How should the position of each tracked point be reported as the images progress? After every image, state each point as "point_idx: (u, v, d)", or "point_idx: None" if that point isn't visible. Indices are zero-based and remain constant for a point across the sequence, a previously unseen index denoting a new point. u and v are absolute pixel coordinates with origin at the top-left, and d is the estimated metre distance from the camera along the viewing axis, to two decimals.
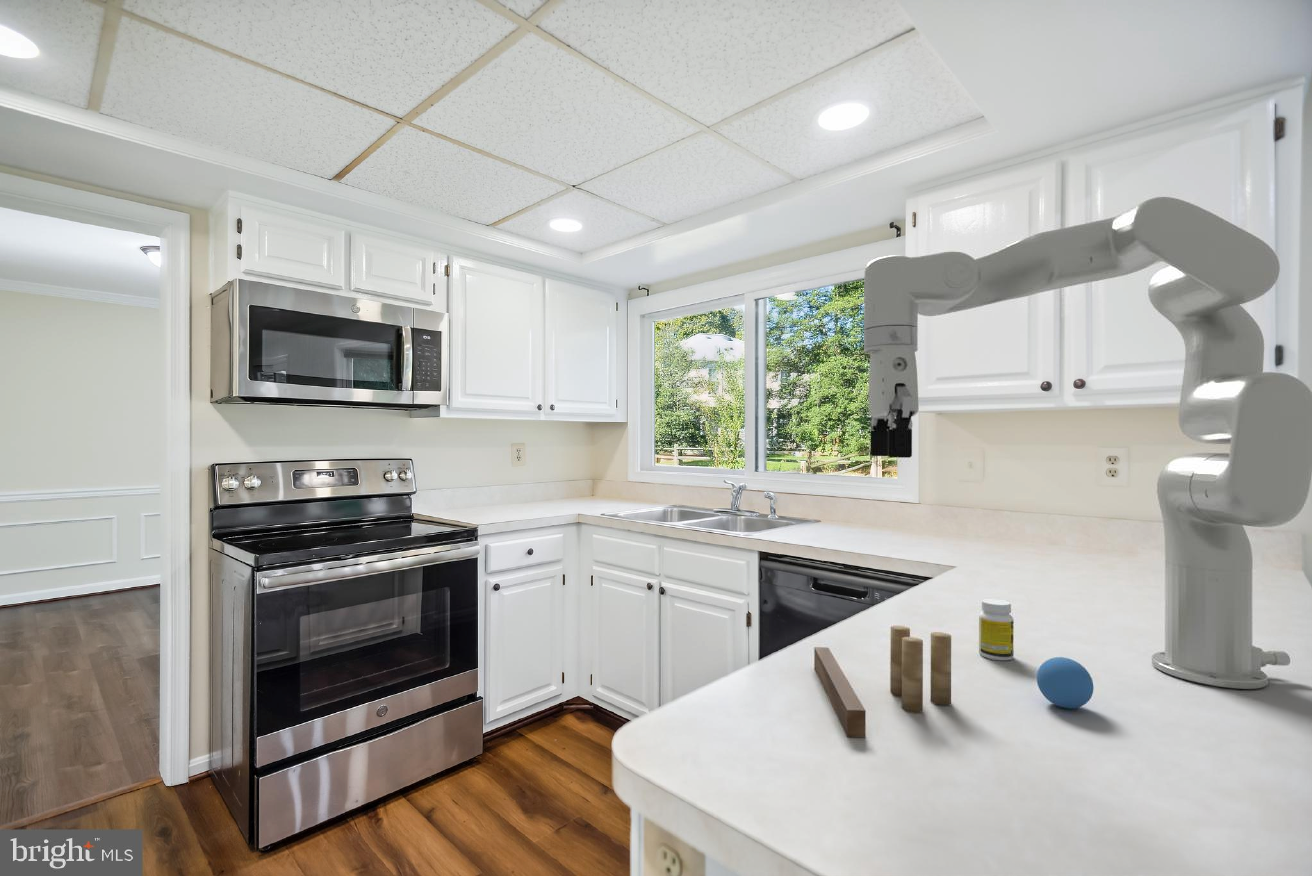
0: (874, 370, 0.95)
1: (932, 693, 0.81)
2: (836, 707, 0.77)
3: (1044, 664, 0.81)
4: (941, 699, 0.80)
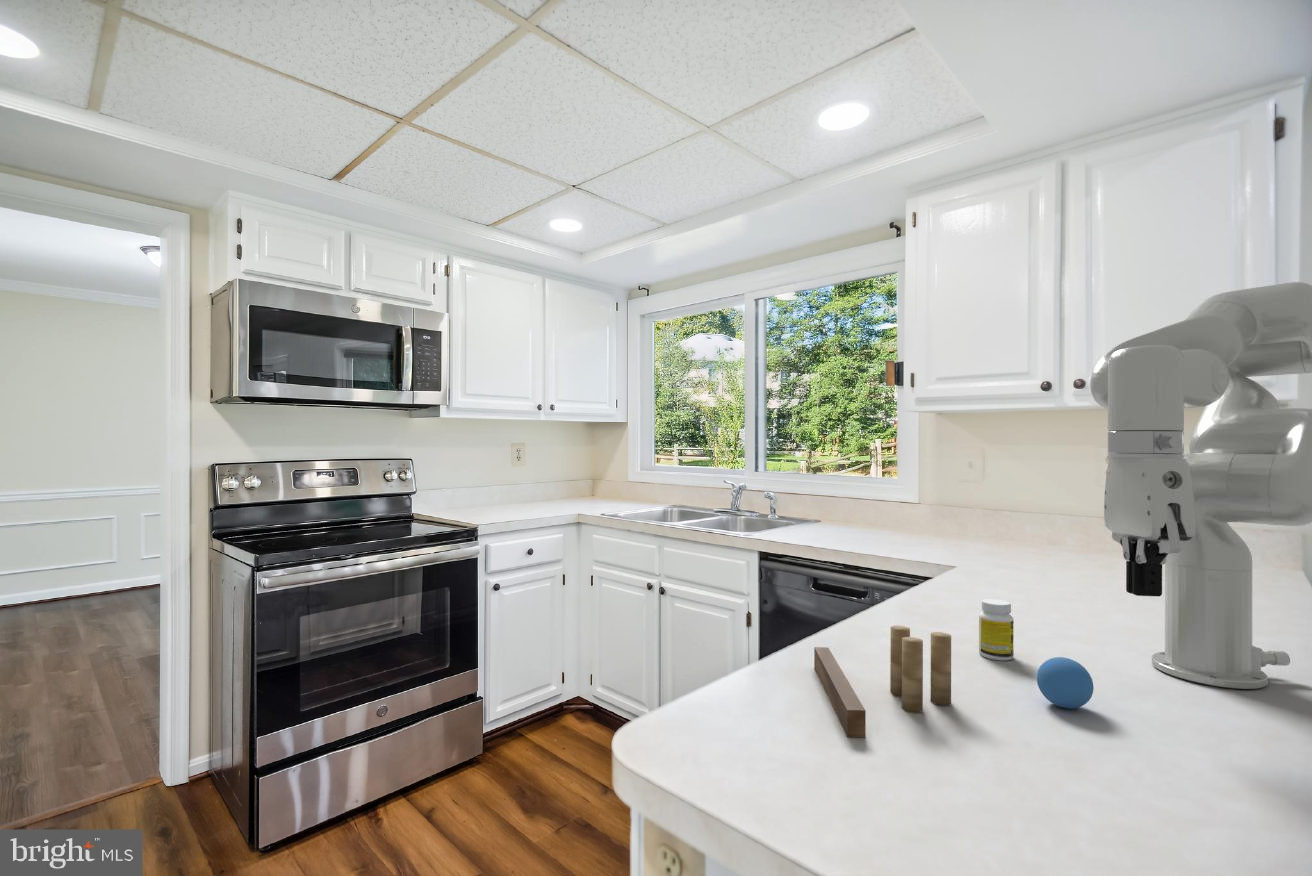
0: (1126, 481, 0.79)
1: (932, 693, 0.81)
2: (836, 707, 0.77)
3: (1044, 664, 0.81)
4: (941, 699, 0.80)
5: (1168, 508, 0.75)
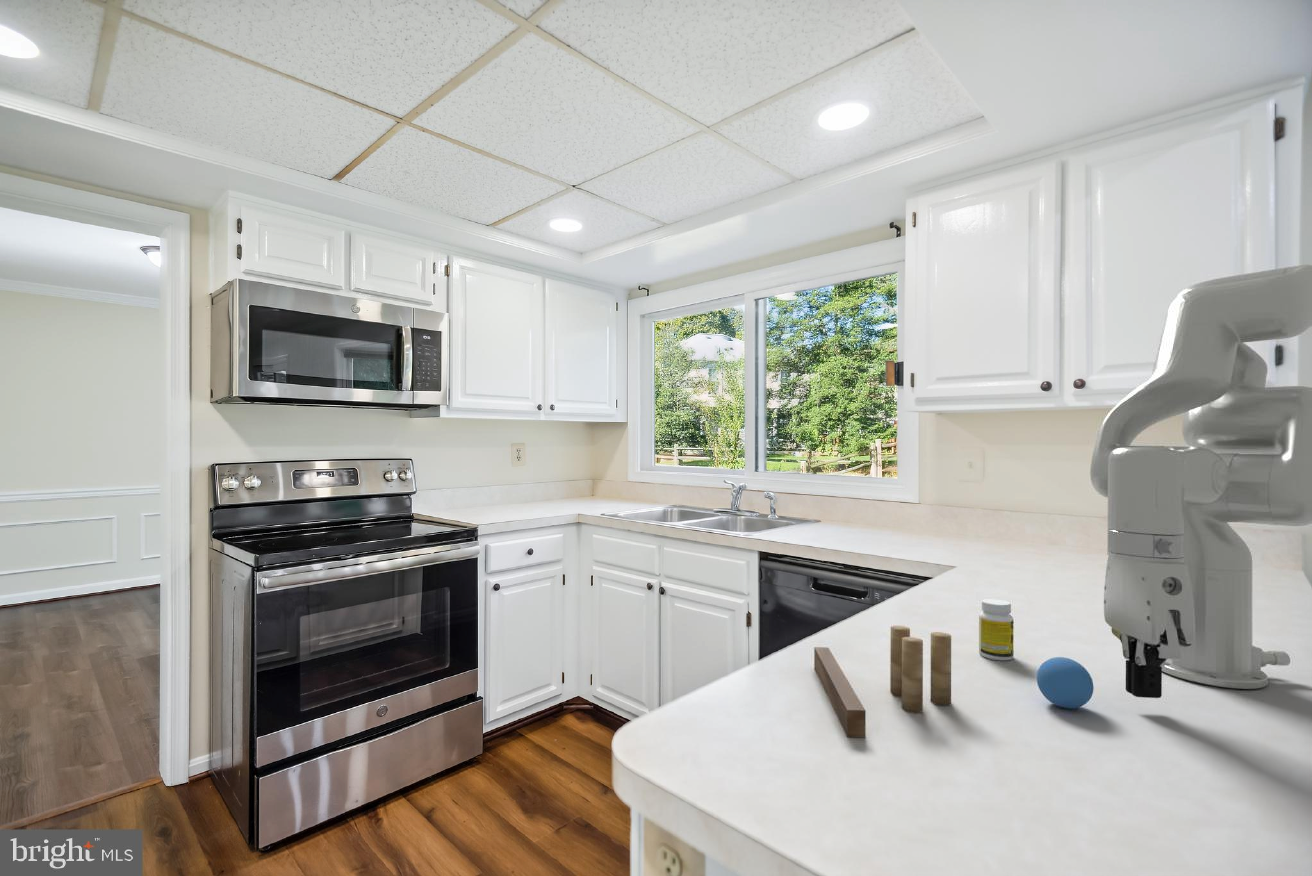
0: (1126, 581, 0.79)
1: (932, 693, 0.81)
2: (836, 707, 0.77)
3: (1044, 664, 0.81)
4: (941, 699, 0.80)
5: (1168, 614, 0.75)
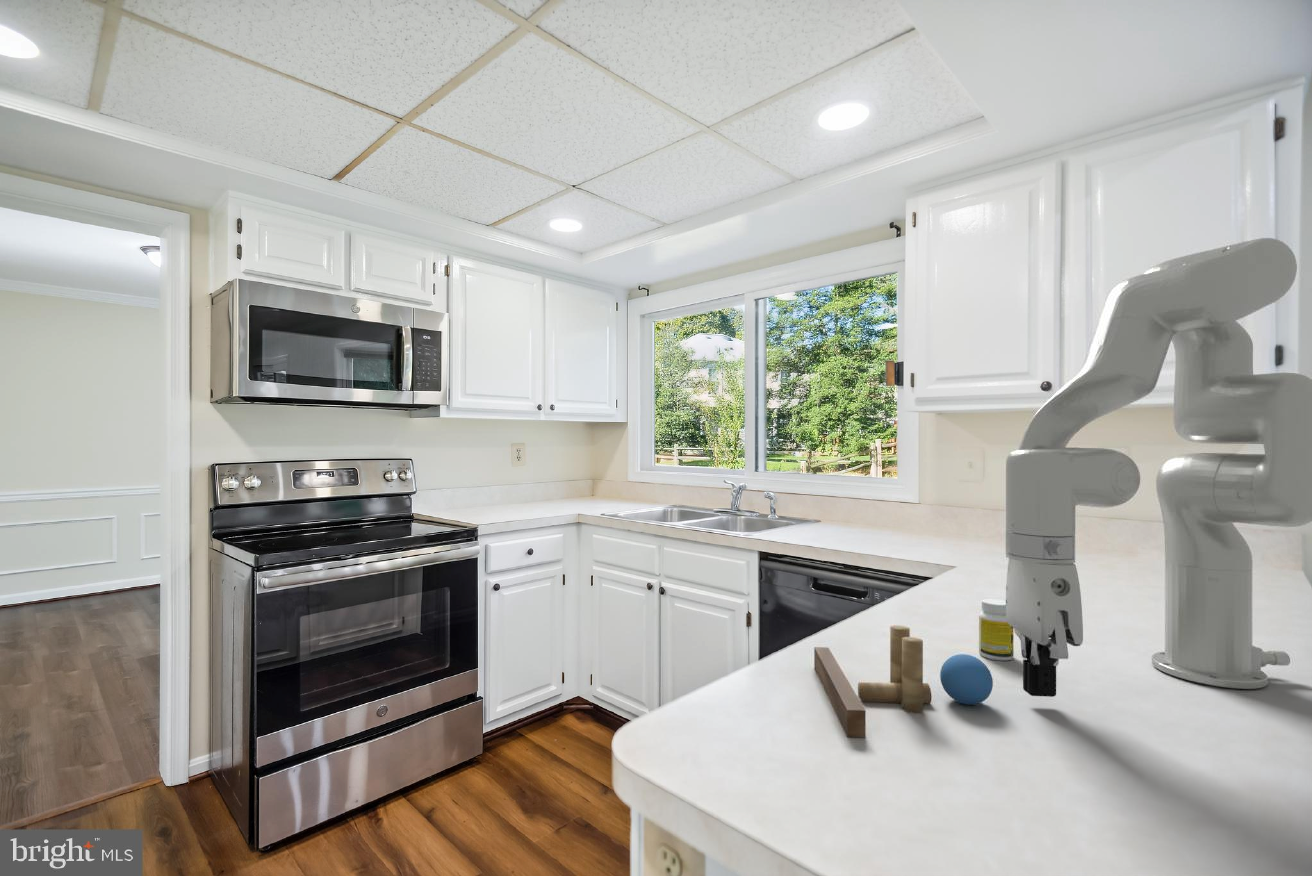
0: (1021, 582, 0.80)
1: None
2: (836, 707, 0.77)
3: None
4: (925, 699, 0.80)
5: (1057, 614, 0.76)
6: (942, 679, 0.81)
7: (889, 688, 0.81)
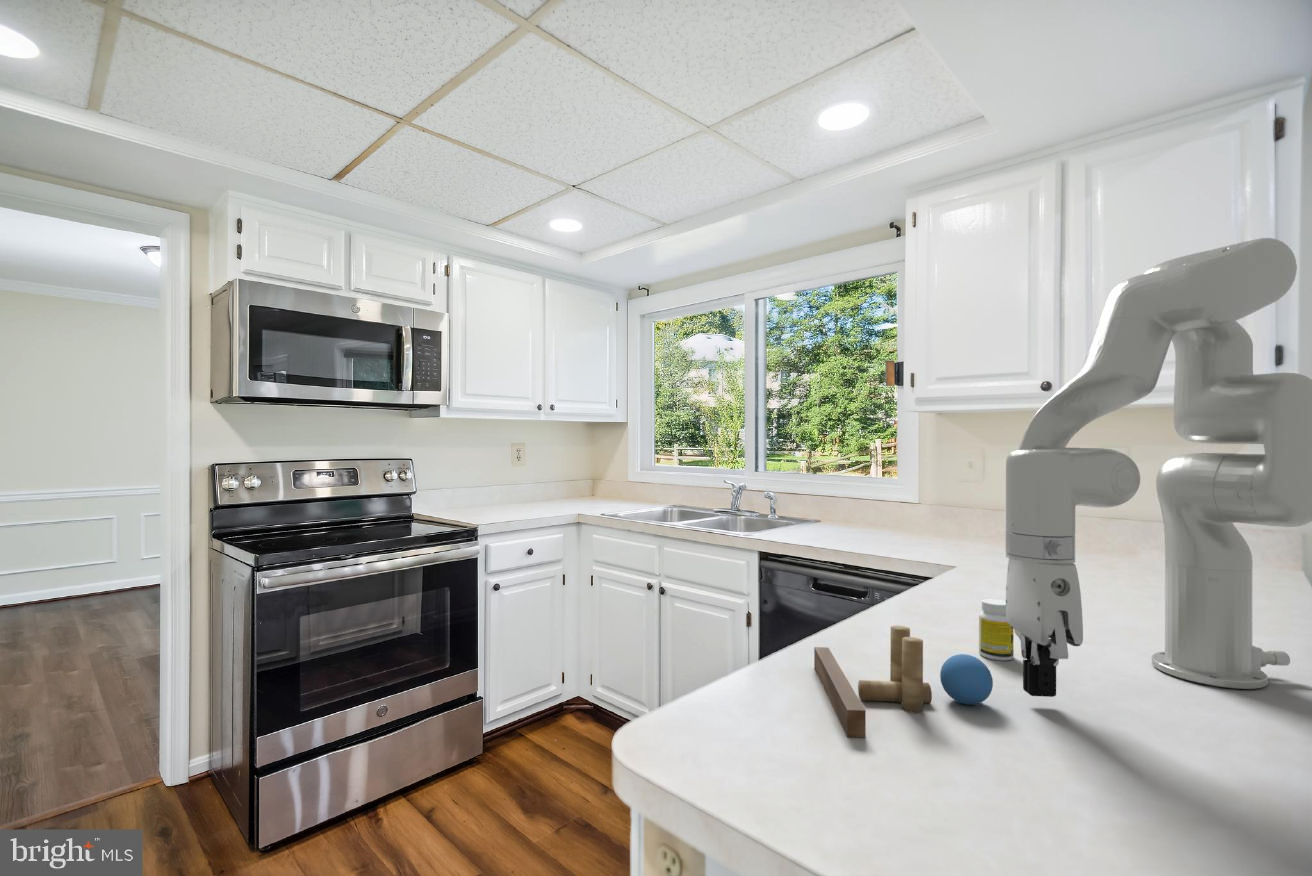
0: (1021, 582, 0.80)
1: None
2: (836, 707, 0.77)
3: None
4: (925, 698, 0.80)
5: (1057, 614, 0.76)
6: (942, 679, 0.81)
7: (889, 687, 0.81)
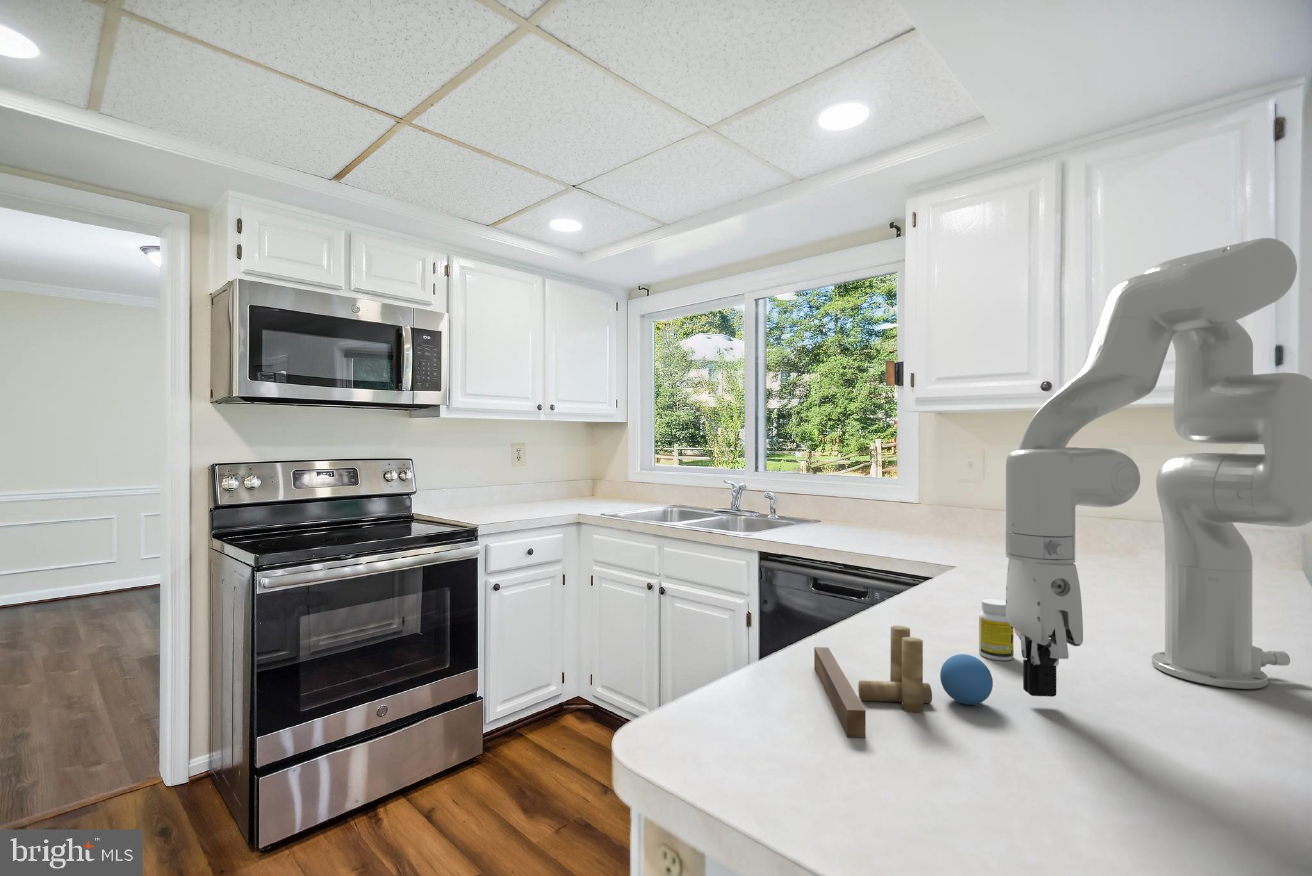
0: (1021, 582, 0.80)
1: None
2: (836, 707, 0.77)
3: None
4: (925, 699, 0.80)
5: (1057, 614, 0.76)
6: (942, 679, 0.81)
7: (890, 687, 0.81)
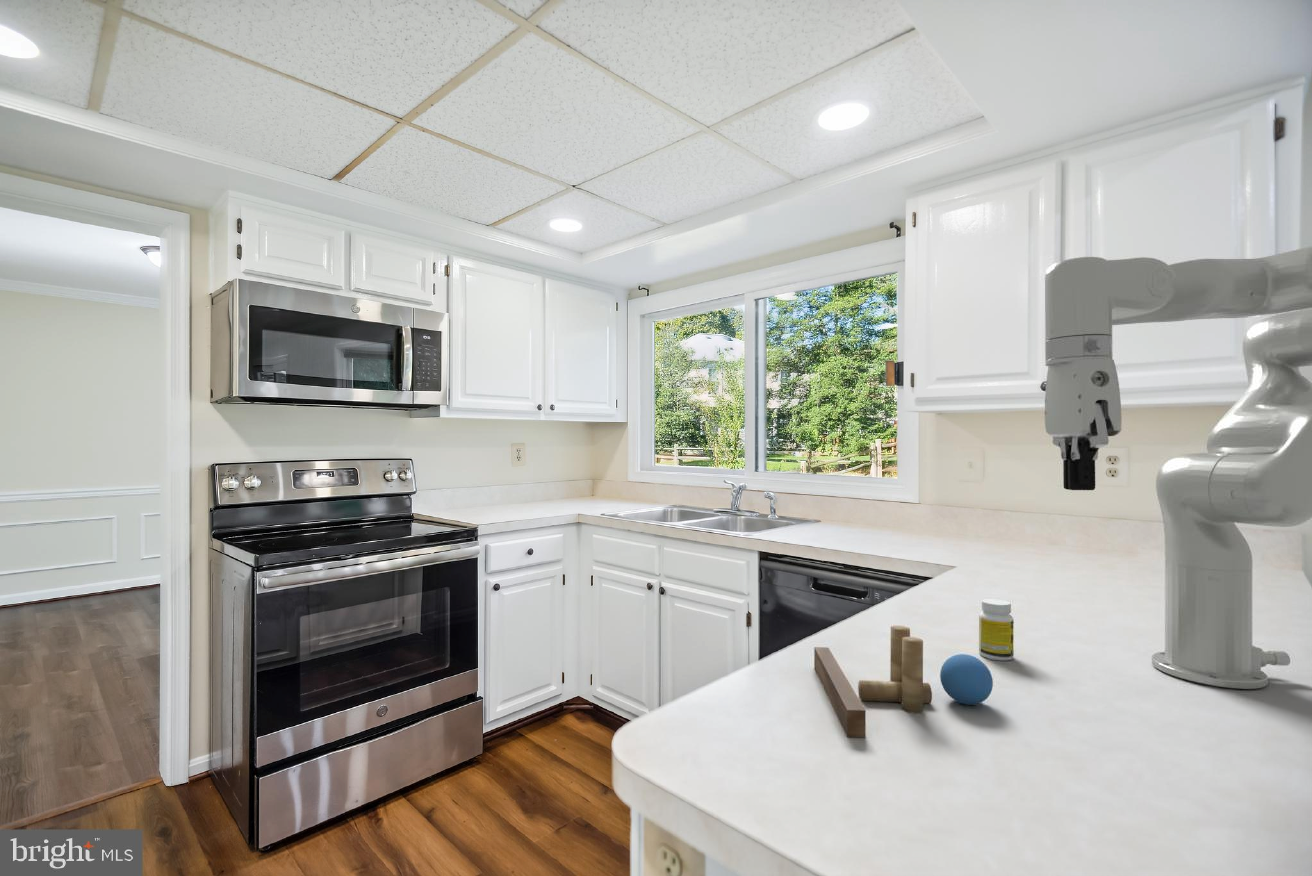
0: (1061, 384, 0.85)
1: None
2: (836, 707, 0.77)
3: None
4: (925, 698, 0.80)
5: (1097, 405, 0.81)
6: (942, 679, 0.81)
7: (890, 687, 0.81)
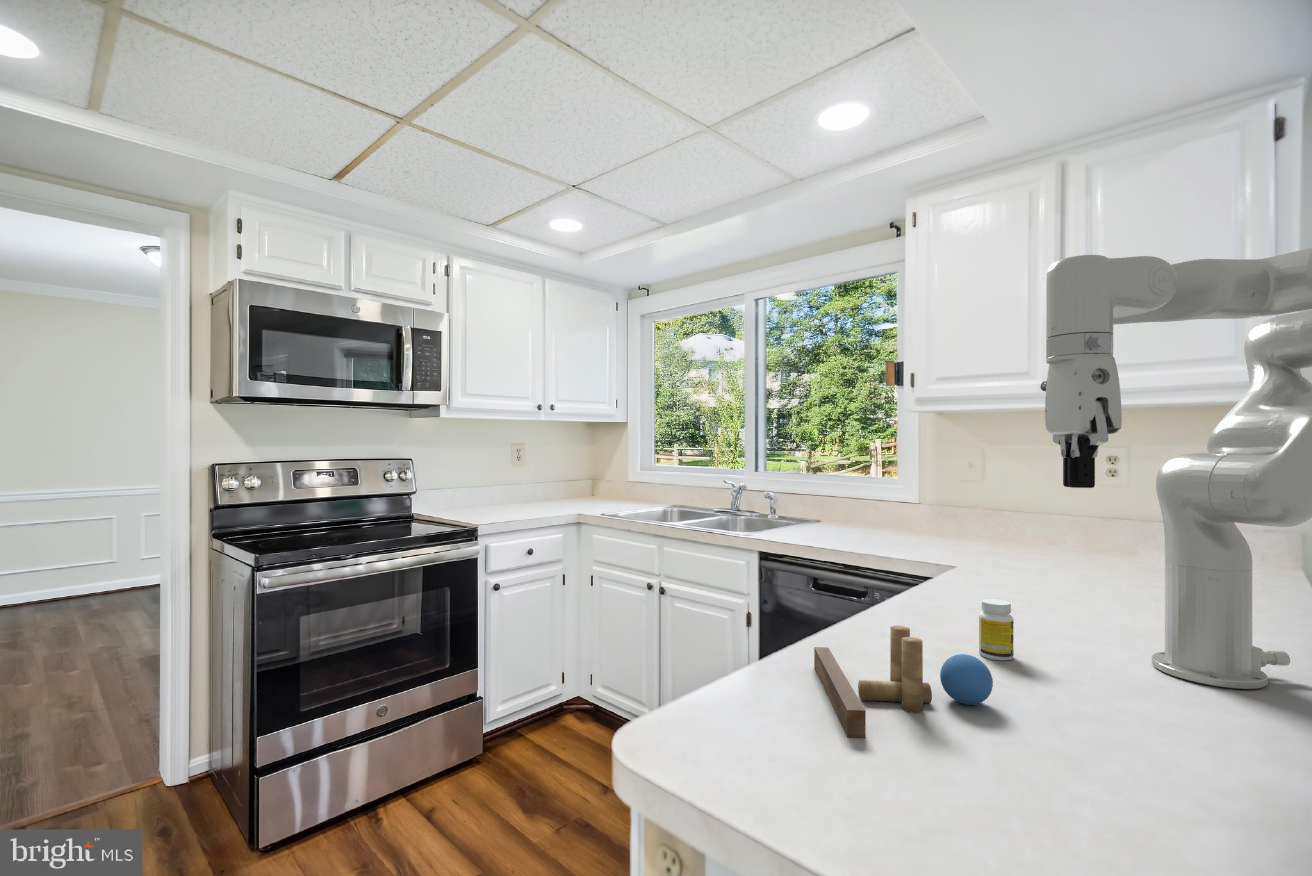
0: (1062, 382, 0.85)
1: None
2: (836, 707, 0.77)
3: None
4: (925, 698, 0.80)
5: (1097, 403, 0.81)
6: (942, 679, 0.81)
7: (889, 686, 0.81)
